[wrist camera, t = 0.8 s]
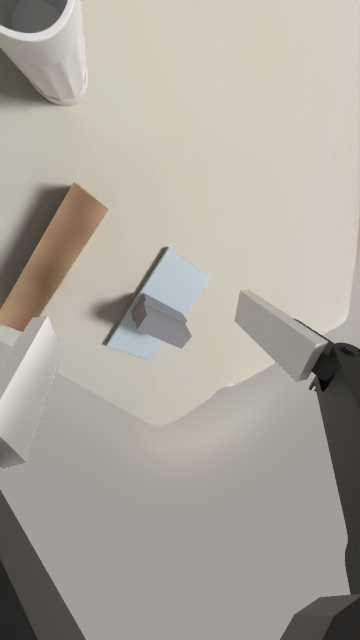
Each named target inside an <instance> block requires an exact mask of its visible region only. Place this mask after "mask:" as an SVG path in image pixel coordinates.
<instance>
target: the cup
mask: <svg viewBox="0 0 360 640" xmlns="http://www.w3.org/2000/svg"><path fill="white" fill-rule="evenodd" d="M0 48H1V49H2V50H3V51H4V52H5V53H6V55H7V56H8V57H9V58H10V59H11V60H12V61H13V62H14V64H15V65H16V66H17V67H18V68H19V69H20V70H21V72H22V73H23V74H24V75H25V76H26V77H27V78H28V80H29V81H30V82H31V84H32V85H33V86H34V88H35V89H36V90H37V91H38V92H39V93H40V94H41V95H42V96H43V97H45V98H46V99H47V100H49V101H51V102H52V103H55V104H57V105H60V106H72V105H75V104H77V103H78V102H79V101H80V100H81V99H82V98H83V96H84V95H85V92H86V89H87V85H88V69H87V63H86V57H85V45H84V33H83V22H82V10H81V0H0Z"/></svg>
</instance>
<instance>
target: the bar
mask: <svg viewBox="0 0 360 640" xmlns="http://www.w3.org/2000/svg"><path fill="white" fill-rule="evenodd" d="M107 211H108V209H107V208H106V207H105V206H103V205H102V204H101V203H100V202H99V201H98V200H96V199H95V198H94V197H93V196H92V195H91V194H89V193H88V192H87V191H86V190H85V189H84V188H82V187H81V186H80V185H78V184H76V183H73V184H72V186H71V188H70V189H69V191H68V193H67V195H66V196H65V198H64V200H63V202H62V203H61V205H60V207H59V209H58V210H57V212H56V214H55V216H54V217H53V219H52V221H51V222H50V224H49V226H48V228H47V229H46V231H45V233H44V235H43V236H42V238H41V240H40V242H39V243H38V245H37V247H36V249H35V250H34V252H33V254H32V255H31V257H30V259H29V261H28V262H27V264H26V266H25V268H24V269H23V271H22V273H21V275H20V276H19V278H18V280H17V282H16V283H15V285H14V287H13V288H12V290H11V292H10V294H9V295H8V297H7V299H6V301H5V302H4V304H3V306H2V308H1V309H0V324H3V325H6V326H8V327H11V328H14V329H16V330H19V331H22V332H23V331H24V330H25V328H26V327H27V325H28V324H29V322H30V321H31V319H32V318H34V317H39V316H40V315H41V313H42V311H43V310H44V308H45V307H46V305H47V304H48V302H49V301H50V299H51V298H52V296H53V294H54V293H55V291H56V290H57V288H58V287H59V285H60V284H61V282H62V281H63V279H64V278H65V276H66V274H67V273H68V271H69V270H70V268H71V267H72V265H73V264H74V262H75V261H76V259H77V257H78V256H79V254H80V253H81V251H82V250H83V248H84V247H85V245H86V244H87V242H88V240H89V239H90V237H91V236H92V234H93V233H94V231H95V230H96V228H97V227H98V225H99V224H100V222H101V220H102V219H103V217H104V216H105V214H106V213H107Z"/></svg>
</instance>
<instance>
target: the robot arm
mask: <svg viewBox="0 0 360 640" xmlns="http://www.w3.org/2000/svg"><path fill="white" fill-rule="evenodd" d="M235 322H236V323H237V324H238V325H239V326H240V327H241V328H242V329H243V330H244V331H245V332H246V333H247V334H248V335H249V336H250V337H251V338H252V339H253V340H254V341H255V342H256V343H257V344H258V345H259V346H260V347H262V348H263V349H264V350H265V351H266V352H267V353H268V354H269V355H270V356H271V357H272V358H273V359H274V360H275V361H276V362H277V363H278V364H279V365H280V366H281V367H282V368H283V369H284V370H285V371H286V372H287V373H288V374H289V375H290V376H291V377H292V378H293V379H294V380H295V381H296V382H299V381H302V380H306V379H307V378H308V377H309V375H310V373H311V371H312V372H313V373H314V374H315V375H316V376H315V378H314V380H313V381H312V383H311V385H310V386H309V390H312V388H313V386H315V387H316V389H315V390H314V391H316V392H317V396H318V400H319V405H320V409H321V414H322V419H323V423H324V428H325V433H326V437H327V442H328V446H329V451H330V455H331V460H332V464H333V469H334V474H335V478H336V483H337V487H338V492H339V496H340V501H341V505H342V510H343V515H344V519H345V523H346V528H347V534H348V544H347V547H346V551H345V565H346V572H347V577H348V582H349V588H350V593H351V595H343V596H331V597H320V598H318V599H317V600H315V601H314V602H312V603H311V604H309V605H308V606H306V607H305V608H304V609H302V610H301V611H299V612H298V613H296V614H295V615H294V616H293V618H292V620H291V622H290V623H289V625H288V627H287V629H286V630H285V632H284V634H283V635H282V637H281V639H280V640H360V349H359V348H357V347H355V346H353V345H350V344H347V343H336V344H334V343H333V342H331V341H330V340H328V339H327V338H325V337H323V336H322V335H320V334H319V333H317V332H316V331H314V330H312V329H311V328H310V327H308V326H306V325H305V324H303V323H302V322H300V321H299V320H296V319H294V318H291V317H290V316H288V315H287V314H285V313H284V312H282V311H281V310H279V309H278V308H276V307H275V306H273V305H272V304H270V303H268V302H267V301H265V300H264V299H262V298H261V297H259V296H258V295H256V294H255V293H253V292H252V291H250V290H243V291H240V295H239V300H238V306H237V311H236V316H235ZM62 352H63V350H62V348H61V345H60V343H59V341H58V339H57V336H56V334H55V332H54V330H53V327H52V325H51V323H50V321H49V318H48V316H42V317H34V318H32V319H31V321H30V322H29V324H28V325H27V327H26V328H25V330H24V331H23V332H22V334H21V335H20V337H19V338H18V340H17V341H16V343H15V344H14V346H13V347H12V349H11V350H10V352H9V353H8V355H7V356H6V358H5V359H4V360H3V362H2V364H1V365H0V467H1V468H2V469H3V468H7V467H10V466H14V465H17V464H21V463H24V462H26V461H27V458H28V455H29V452H30V449H31V446H32V443H33V440H34V437H35V433H36V431H37V427H38V425H39V422H40V418H41V415H42V412H43V409H44V406H45V403H46V400H47V397H48V394H49V391H50V388H51V385H52V382H53V379H54V376H55V373H56V370H57V367H58V364H59V361H60V358H61V355H62ZM0 640H86V639H85V637H84V636H83V634H82V632H81V630H80V629H79V627H78V625H77V623H76V622H75V620H74V618H73V616H72V615H71V613H70V611H69V609H68V608H67V606H66V604H65V603H64V601H63V599H62V597H61V596H60V594H59V592H58V590H57V588H56V587H55V585H54V583H53V581H52V580H51V578H50V576H49V574H48V573H47V571H46V569H45V567H44V566H43V564H42V562H41V560H40V558H39V557H38V555H37V553H36V551H35V550H34V548H33V546H32V545H31V543H30V541H29V540H28V537H27V536H26V534H25V532H24V530H23V529H22V527H21V525H20V523H19V522H18V520H17V518H16V517H15V515H14V513H13V511H12V509H11V508H10V506H9V504H8V502H7V501H6V499H5V497H4V495H3V494H2V492H1V490H0Z"/></svg>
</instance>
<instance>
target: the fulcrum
mask: <svg viewBox="0 0 360 640" xmlns="http://www.w3.org/2000/svg"><path fill="white" fill-rule="evenodd" d="M210 279H211V278H210V277H208V276H207V275H206V274H204V273H203V272H202V271H200V270H199V269H197V268H196V267H195V266H193V265H192V264H191V263H189V262H188V261H187V260H185V259H184V258H182V257H181V256H180V255H178V254H177V253H176V252H174V251H173V250H172V249H170V248H169V247H167V249H166V250H165V252H164V254H163V255H162V257H161V258H160V260H159V261H158V263H157V265H156V266H155V268H154V269H153V271H152V273H151V274H150V276H149V277H148V279H147V280H146V282H145V284H144V285H143V287H142V288H141V290H140V291H139V293H138V295H137V296H136V298H135V299H134V301H133V303H132V304H131V306H130V307H129V309H128V310H127V312H126V314H125V315H124V317H123V318H122V320H121V321H120V323H119V325H118V326H117V328H116V329H115V331H114V332H113V334H112V336H111V337H110V339H109V340H108V342H107V346H108V347H111V348H114V349H117V350H120V351H123V352H126V353H129V354H132V355H135V356H138V357H142V358H145V359H148V360H151V358H152V357H153V356H154V354H155V353H156V352H157V350H158V349H159V348H160V346H161V345H162V344H163V342H167V343H169V344H172V345H174V346H177V347H179V348H181V349H182V348H183V346H184V345H185V344H186V343H187V341H188V340H189V339H190V338H191V334H190V332H189V330H188V329H187V327H186V325H185V323H186V322H187V320H186V319H185V317H184V314H185V313H186V311H187V310H188V309H189V307H190V306H191V305H192V303H193V302H194V301H195V299H196V298H197V297H198V295H199V294H200V293H201V291H202V290H203V289H204V287H205V286H206V285H207V283H208V282H209V281H210Z"/></svg>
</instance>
